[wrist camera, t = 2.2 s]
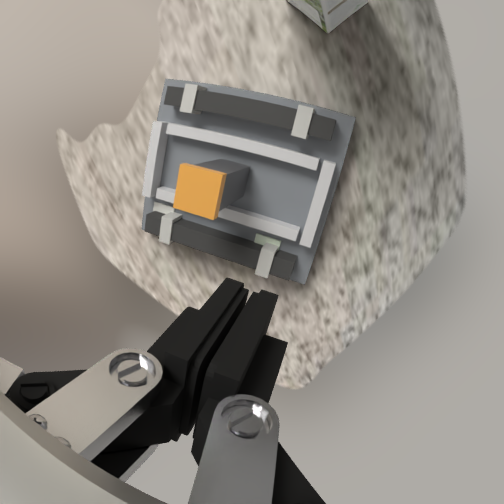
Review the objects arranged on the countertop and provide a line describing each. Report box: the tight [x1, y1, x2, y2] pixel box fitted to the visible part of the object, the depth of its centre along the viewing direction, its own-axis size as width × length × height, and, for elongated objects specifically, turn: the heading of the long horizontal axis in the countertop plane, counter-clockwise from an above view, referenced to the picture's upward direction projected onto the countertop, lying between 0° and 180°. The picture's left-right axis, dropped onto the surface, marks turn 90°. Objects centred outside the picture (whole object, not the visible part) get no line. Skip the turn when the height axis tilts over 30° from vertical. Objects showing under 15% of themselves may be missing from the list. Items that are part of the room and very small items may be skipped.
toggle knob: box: [173, 159, 251, 220], centre depth 25 cm, size 3×3×8 cm
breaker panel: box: [142, 79, 356, 285], centre depth 28 cm, size 16×18×3 cm
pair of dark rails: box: [145, 84, 336, 280], centre depth 28 cm, size 15×15×2 cm
